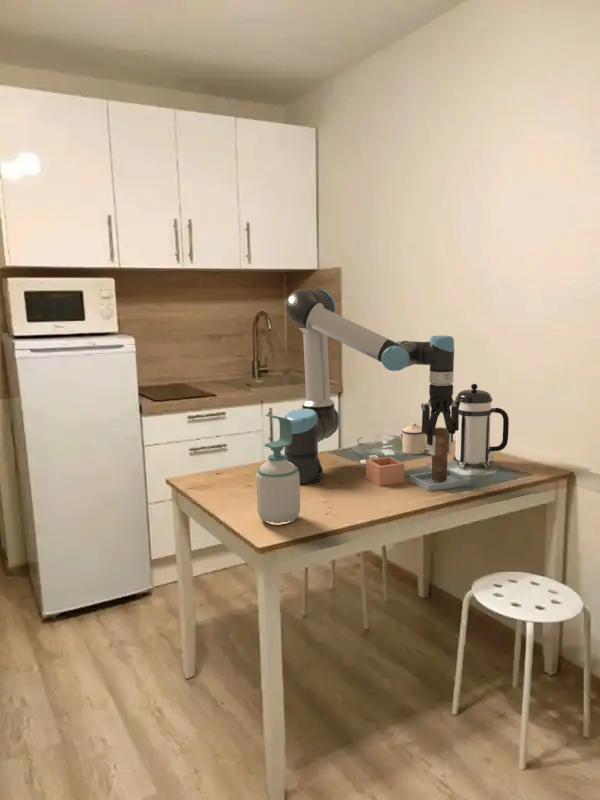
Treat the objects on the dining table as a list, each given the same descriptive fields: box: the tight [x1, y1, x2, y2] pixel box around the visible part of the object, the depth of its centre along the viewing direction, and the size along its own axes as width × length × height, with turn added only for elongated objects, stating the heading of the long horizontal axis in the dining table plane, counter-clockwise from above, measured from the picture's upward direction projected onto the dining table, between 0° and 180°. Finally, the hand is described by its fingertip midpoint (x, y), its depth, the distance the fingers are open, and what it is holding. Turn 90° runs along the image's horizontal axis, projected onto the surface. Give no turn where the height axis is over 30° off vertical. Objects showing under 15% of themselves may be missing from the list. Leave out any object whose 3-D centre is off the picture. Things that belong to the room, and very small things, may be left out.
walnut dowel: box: [431, 426, 449, 481], centre depth 201 cm, size 5×5×17 cm
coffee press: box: [453, 383, 510, 466], centre depth 222 cm, size 17×16×30 cm
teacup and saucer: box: [359, 454, 379, 465], centre depth 225 cm, size 9×8×4 cm
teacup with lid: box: [400, 422, 426, 455], centre depth 243 cm, size 12×9×12 cm
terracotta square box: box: [365, 456, 405, 487], centre depth 207 cm, size 9×9×7 cm
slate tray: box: [408, 468, 471, 493], centre depth 203 cm, size 16×12×2 cm
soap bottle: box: [255, 414, 301, 523], centre depth 173 cm, size 12×12×31 cm
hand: (439, 453), depth 201 cm, fingers open, 5 cm apart
